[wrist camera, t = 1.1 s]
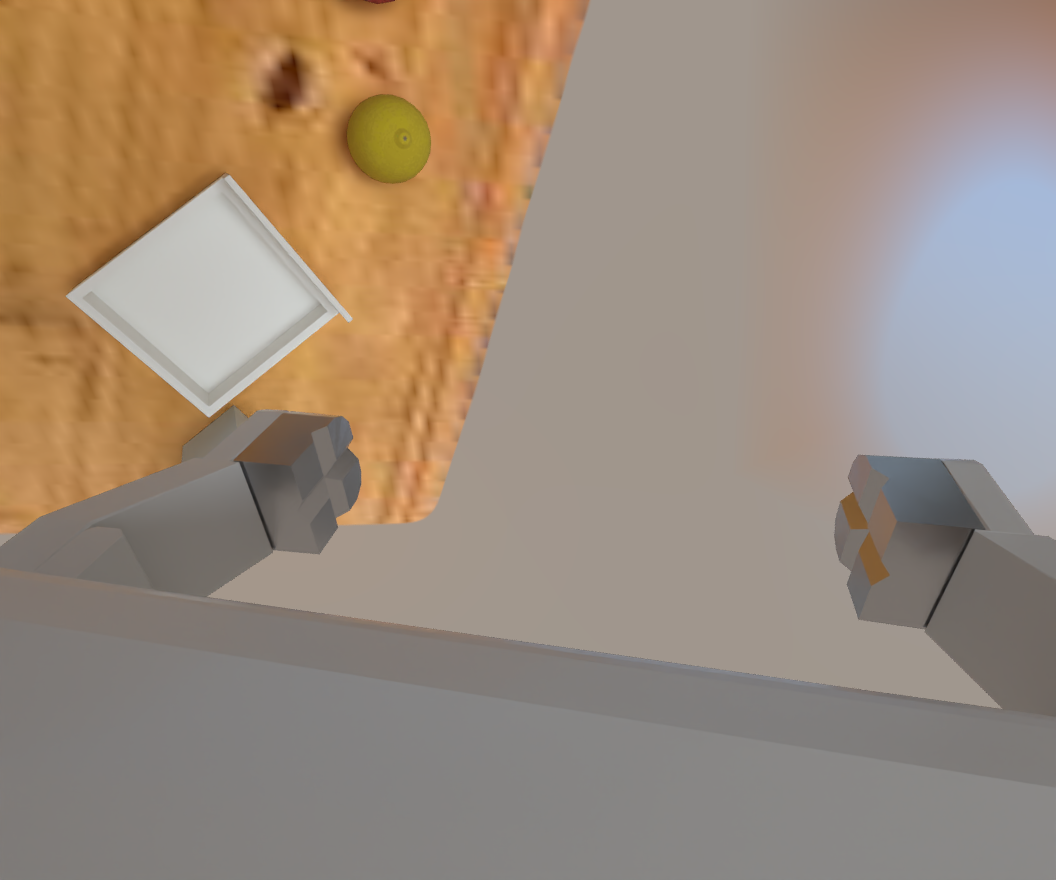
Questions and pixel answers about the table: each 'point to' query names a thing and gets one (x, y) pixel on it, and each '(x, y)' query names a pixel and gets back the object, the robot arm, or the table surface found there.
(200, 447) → the carton
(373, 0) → the onion
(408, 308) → the table surface
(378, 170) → the lemon
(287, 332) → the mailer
